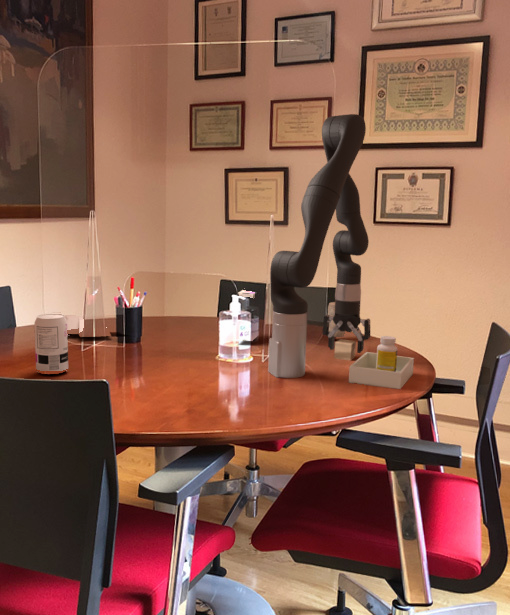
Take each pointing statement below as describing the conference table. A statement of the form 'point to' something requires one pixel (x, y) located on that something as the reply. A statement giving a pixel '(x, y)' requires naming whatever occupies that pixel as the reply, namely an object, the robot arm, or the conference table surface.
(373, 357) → the box
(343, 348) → the birch cube
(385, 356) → the supplement bottle
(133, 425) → the conference table surface
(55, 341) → the supplement can
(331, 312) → the carving
